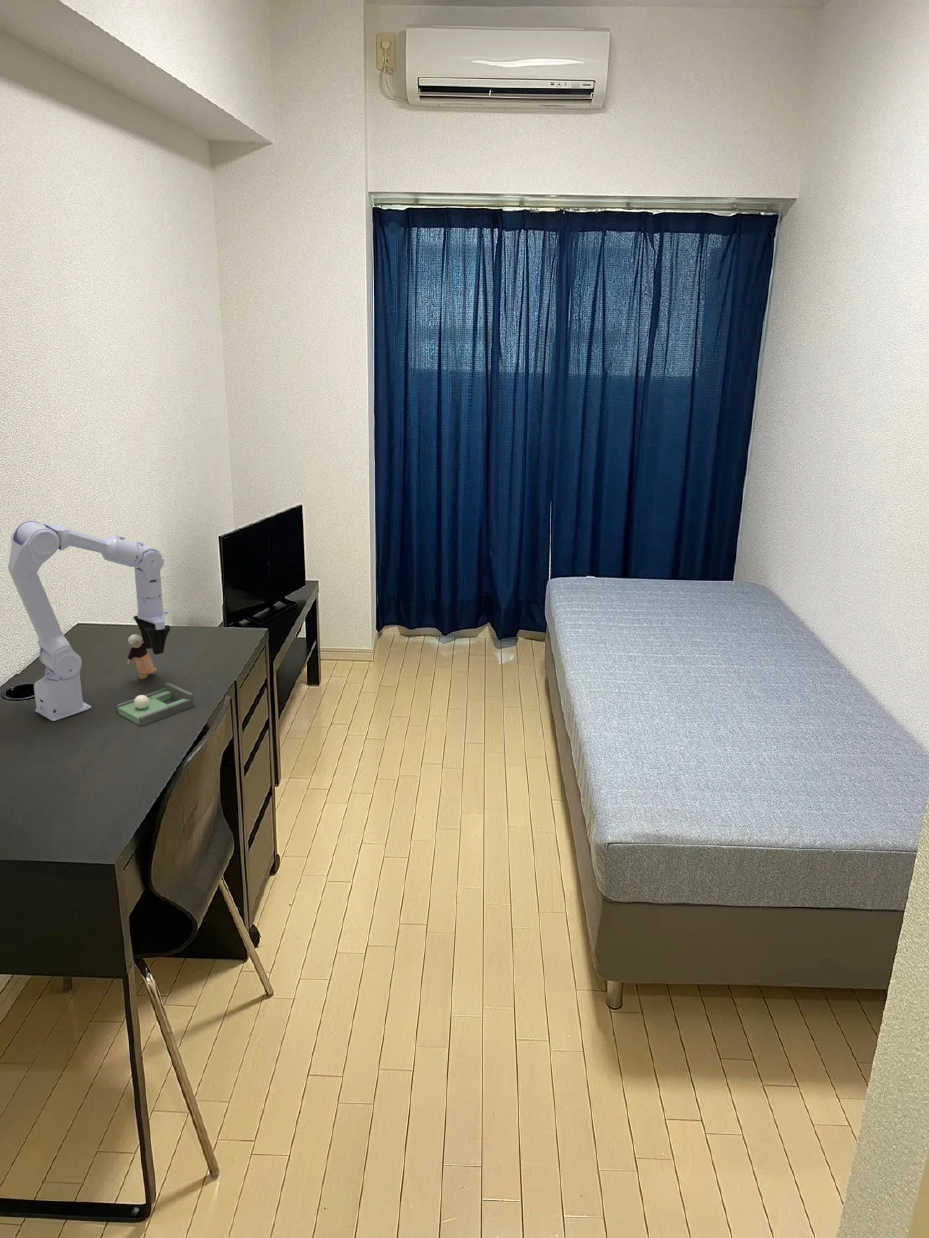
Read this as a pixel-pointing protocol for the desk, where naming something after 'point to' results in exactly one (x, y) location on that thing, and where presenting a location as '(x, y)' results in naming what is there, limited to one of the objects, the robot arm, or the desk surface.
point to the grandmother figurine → (140, 656)
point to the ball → (141, 701)
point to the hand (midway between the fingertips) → (153, 648)
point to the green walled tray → (157, 705)
